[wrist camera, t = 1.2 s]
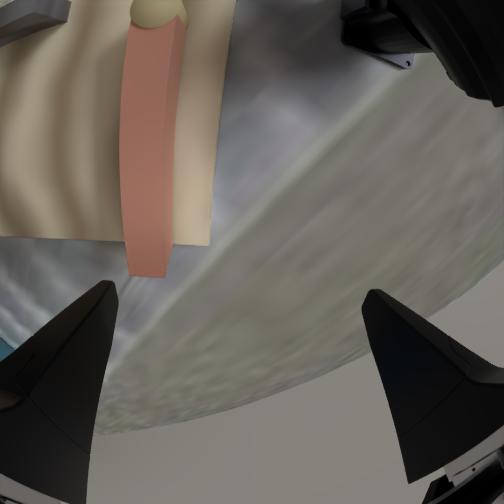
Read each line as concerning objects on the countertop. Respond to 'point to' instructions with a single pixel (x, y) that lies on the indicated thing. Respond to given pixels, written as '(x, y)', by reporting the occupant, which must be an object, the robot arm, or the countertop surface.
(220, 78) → the latch board
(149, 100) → the latch bar
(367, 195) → the countertop surface
